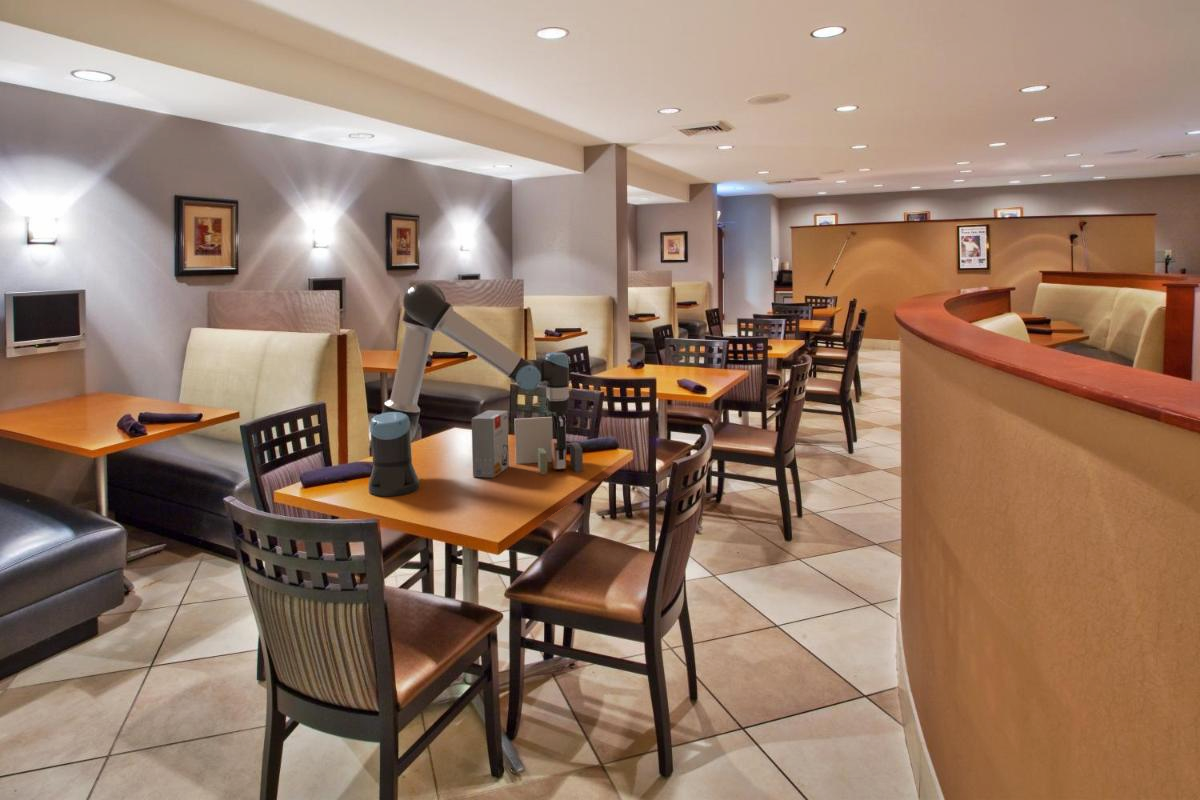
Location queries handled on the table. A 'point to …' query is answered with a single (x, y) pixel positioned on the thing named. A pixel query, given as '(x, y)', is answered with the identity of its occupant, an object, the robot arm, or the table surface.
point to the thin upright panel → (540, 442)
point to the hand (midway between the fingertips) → (559, 465)
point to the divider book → (542, 460)
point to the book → (555, 453)
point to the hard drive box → (490, 443)
